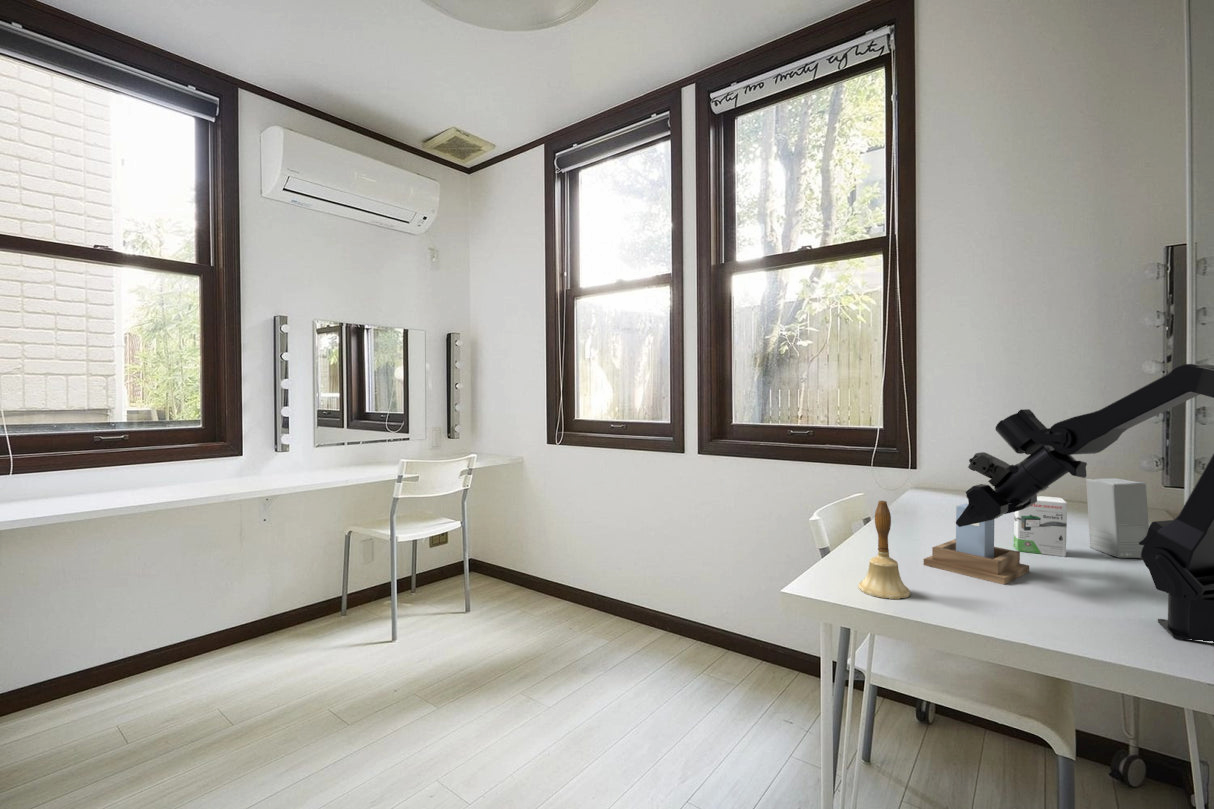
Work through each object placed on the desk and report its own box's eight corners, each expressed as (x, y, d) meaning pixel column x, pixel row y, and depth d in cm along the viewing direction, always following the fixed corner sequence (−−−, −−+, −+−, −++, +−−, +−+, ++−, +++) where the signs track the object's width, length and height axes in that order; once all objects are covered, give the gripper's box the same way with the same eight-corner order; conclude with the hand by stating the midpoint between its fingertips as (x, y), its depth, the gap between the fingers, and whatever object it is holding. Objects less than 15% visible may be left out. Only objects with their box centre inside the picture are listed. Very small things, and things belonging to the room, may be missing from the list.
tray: (1004, 584, 99) (1004, 564, 99) (923, 564, 111) (923, 546, 111) (1029, 571, 106) (1029, 552, 106) (950, 554, 118) (950, 537, 118)
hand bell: (870, 599, 93) (871, 506, 92) (850, 582, 101) (850, 496, 101) (920, 599, 93) (921, 506, 92) (895, 582, 101) (896, 496, 101)
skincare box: (1151, 560, 113) (1153, 483, 112) (1112, 558, 114) (1113, 482, 113) (1120, 548, 121) (1121, 476, 121) (1083, 546, 122) (1084, 476, 122)
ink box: (1016, 551, 119) (1017, 497, 119) (1013, 545, 124) (1013, 493, 123) (1067, 557, 115) (1068, 501, 115) (1062, 551, 119) (1062, 497, 119)
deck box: (984, 567, 105) (984, 510, 105) (955, 561, 109) (956, 506, 109) (994, 563, 108) (994, 507, 107) (965, 556, 112) (966, 503, 112)
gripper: (1018, 436, 110) (957, 484, 119) (978, 442, 99) (915, 494, 108) (1067, 481, 104) (999, 527, 113) (1030, 492, 93) (958, 542, 102)
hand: (967, 521), depth 109 cm, fingers open, 9 cm apart
